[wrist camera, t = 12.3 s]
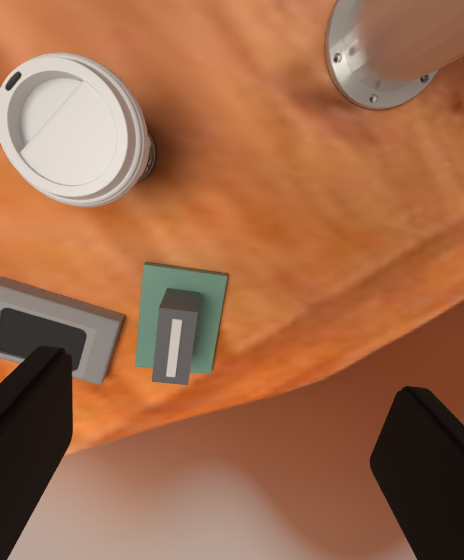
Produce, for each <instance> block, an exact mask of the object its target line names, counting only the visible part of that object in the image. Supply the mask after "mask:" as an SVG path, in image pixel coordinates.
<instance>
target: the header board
mask: <svg viewBox="0 0 464 560" xmlns="http://www.w3.org/2000/svg"><path fill="white" fill-rule="evenodd" d="M226 282H227V273H220V272H213V271H206V270H199V269H192V268H185V267H178V266H171V265H164V264H157V263H150V262H145V263H144V265H143V277H142V289H141V301H140V313H139V325H138V337H137V349H136V361H135V367H145V368H153V365H154V354H155V344H156V333H157V323H158V313H159V306H160V304H161V302H162V299H163V297H164V294H165V292H166V289H167V288H171V289H179V290H186V291H194V292H200V297H199V307H198V315H197V323H196V330H195V337H194V344H193V351H192V359H191V366H190V372H193V373H202V374H211V370H212V364H213V358H214V352H215V346H216V340H217V334H218V329H219V323H220V317H221V311H222V305H223V299H224V293H225V288H226Z"/></svg>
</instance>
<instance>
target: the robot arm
mask: <svg viewBox="0 0 464 560" xmlns="http://www.w3.org/2000/svg"><path fill="white" fill-rule="evenodd" d="M325 55H326V62H327V66H328V70H329V73H330V76H331V78H332V80H333V82H334V84H335V86H336V87H337V88H338V90H339V91H340V92H341V94H342V95H343V96H345V97H346V98H347V99H348V100H349V101H350V102H352V103H354V104H356V105H358V106H360V107H363V108H367V109H373V110H382V109H388V108H392V107H395V106H398V105H401V104H403V103H405V102H407V101H409V100H411V99H412V98H414V97H415V96H416V95H418V94H419V93H420V92H421V91H423V89H424V88H425V87H426V86H427V85H428V84H429V83H430V82H431V81H432V79H433V78H434V76H435V75H436V73H437V72H438V71H439V69H440V68H442V67H444V66H446V65H448V64H450V63H452V62H454V61H456V60H458V59H460V58H462V57H464V0H337V1H336V3H335V5H334V7H333V10H332V12H331V15H330V17H329V20H328V25H327V30H326V36H325ZM333 59H336V63H335V62H334V60H333ZM420 79H421V80H420ZM370 98H371V102H370ZM72 434H73V411H72V356H71V355H70V354H66V351H65V349H64V348H60V347H51V346H39V347H37V348H36V349H35V350H34V351H33V352H32V353H31V354H30V355H29V356H28V357H27V358H26V359H25V360H24V361H23V362H22V363H21V364H20V365H19V366H18V367H17V368H16V369H15V370H14V371H12V372H11V373H10V374H9V375H8V376H7V377H6V378H5V379H4V380H3V381H2V382H1V383H0V560H7V559H8V557H9V555H10V553H11V551H12V550H13V548H14V546H15V544H16V542H17V540H18V538H19V537H20V535H21V533H22V531H23V529H24V527H25V526H26V524H27V522H28V520H29V518H30V516H31V514H32V513H33V511H34V509H35V507H36V505H37V503H38V502H39V500H40V498H41V496H42V494H43V493H44V491H45V489H46V487H47V485H48V483H49V482H50V479H51V478H52V476H53V474H54V472H55V471H56V469H57V467H58V465H59V463H60V461H61V459H62V458H63V456H64V454H65V452H66V450H67V448H68V446H69V444H70V442H71V438H72ZM370 467H371V470H372V472H373V475H374V476H375V478H376V480H377V482H378V484H379V486H380V488H381V490H382V492H383V494H384V496H385V498H386V499H387V502H388V504H389V506H390V508H391V509H392V511H393V513H394V515H395V517H396V519H397V521H398V523H399V525H400V527H401V529H402V531H403V533H404V535H405V537H406V538H407V540H408V542H409V544H410V546H411V548H412V550H413V552H414V554H415V556H416V558H417V560H464V425H463V424H462V423H461V422H460V421H459V420H458V419H457V418H456V417H455V416H454V415H453V414H452V413H451V412H450V411H449V410H448V409H447V408H446V407H445V406H444V405H443V404H442V403H441V402H440V401H439V399H437V397H436V396H435V395H434V394H433V393H432V392H431V391H430V390H428V389H426V388H420V387H410V386H406V387H404V388H403V389H402V390H401V391H399V392H397V394H396V396H395V398H394V401H393V403H392V406H391V408H390V411H389V413H388V416H387V418H386V420H385V423H384V425H383V428H382V430H381V433H380V435H379V438H378V440H377V442H376V445H375V447H374V450H373V452H372V455H371V458H370Z"/></svg>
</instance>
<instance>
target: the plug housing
mask: <svg viewBox="0 0 464 560" xmlns="http://www.w3.org/2000/svg"><path fill="white" fill-rule="evenodd" d="M199 297H200V292H194V291H186V290H179V289H171V288H167V289H166V292H165V294H164V297H163V299H162V302H161V304H160V306H159V313H158V323H157V333H156V344H155V354H154V365H153V375H152V382H161V383H172V384H182V385H188V380H189V373H190V366H191V359H192V351H193V344H194V337H195V330H196V323H197V315H198V307H199Z"/></svg>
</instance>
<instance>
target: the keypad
mask: <svg viewBox="0 0 464 560" xmlns="http://www.w3.org/2000/svg"><path fill="white" fill-rule="evenodd" d="M124 317H125V315H124V314H120V313H117V312H114V311H111V310H108V309H104V308H101V307H98V306H95V305H91V304H88V303H85V302H82V301H78V300H75V299H72V298H69V297H65V296H62V295H59V294H56V293H53V292H49V291H46V290H43V289H40V288H36V287H33V286H30V285H27V284H23V283H20V282H17V281H14V280H10V279H7V278H4V277H0V358H1V359H4V360H8V361H12V362H16V363H19V364H21V363H22V362H23V361H24V360H25V359H26V358H27V357H28V356H29V355H30V354H31V353H32V352H33V351H34V350H35V349H36V348H37V347H39V346H51V347H60V348H64V349H65V351H66V354H70V355H71V356H72V378H76V379H80V380H83V381H87V382H91V383H95V384H99V385H101V384H102V382H103V381H104V379H105V377H106V375H107V372H108V368H109V365H110V362H111V359H112V355H113V352H114V349H115V346H116V342H117V339H118V336H119V333H120V330H121V326H122V323H123V320H124Z"/></svg>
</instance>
